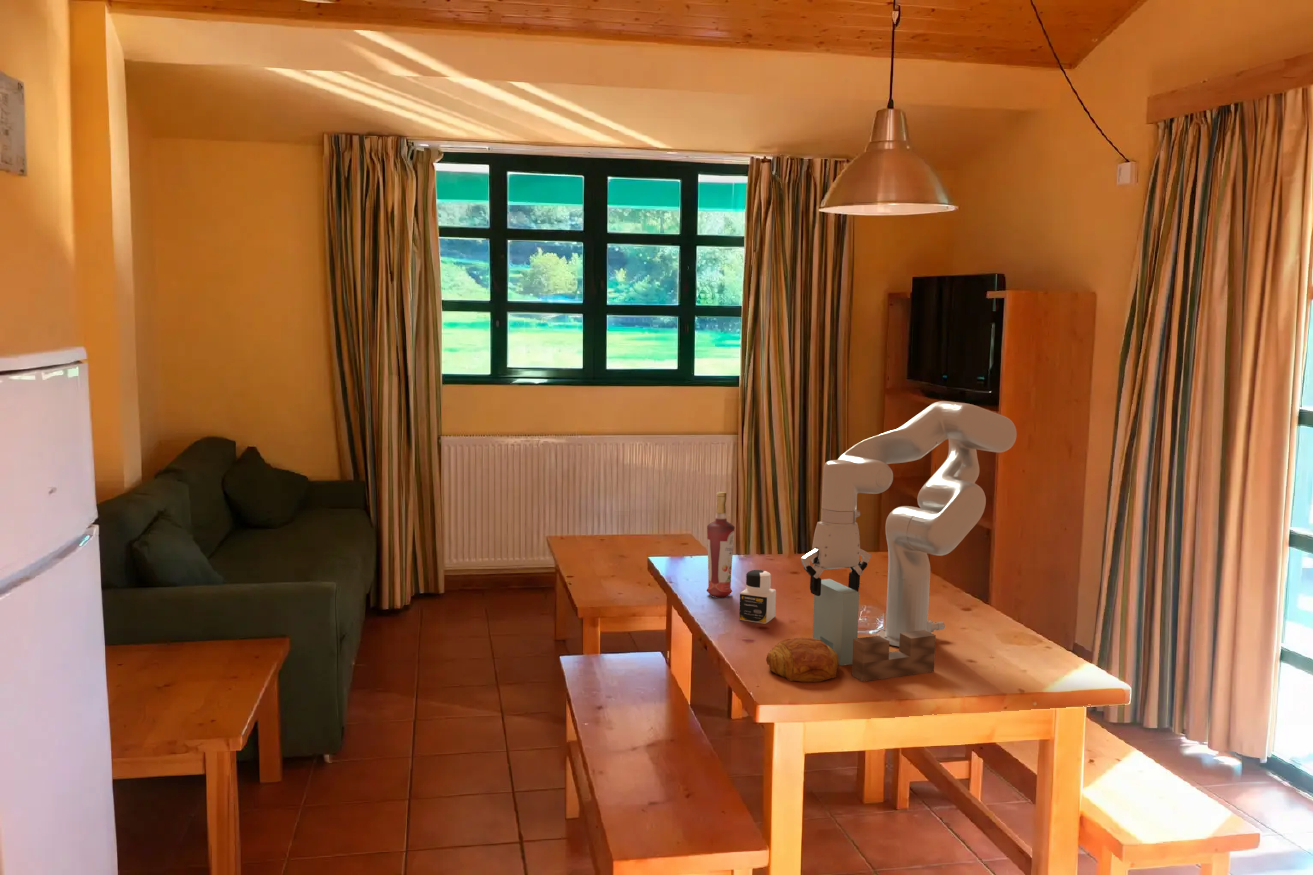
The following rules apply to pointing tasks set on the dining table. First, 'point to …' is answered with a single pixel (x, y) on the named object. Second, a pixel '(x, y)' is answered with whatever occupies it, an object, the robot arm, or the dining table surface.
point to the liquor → (720, 551)
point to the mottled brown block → (893, 656)
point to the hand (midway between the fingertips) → (834, 592)
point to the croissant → (803, 660)
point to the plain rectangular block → (836, 618)
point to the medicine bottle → (757, 598)
